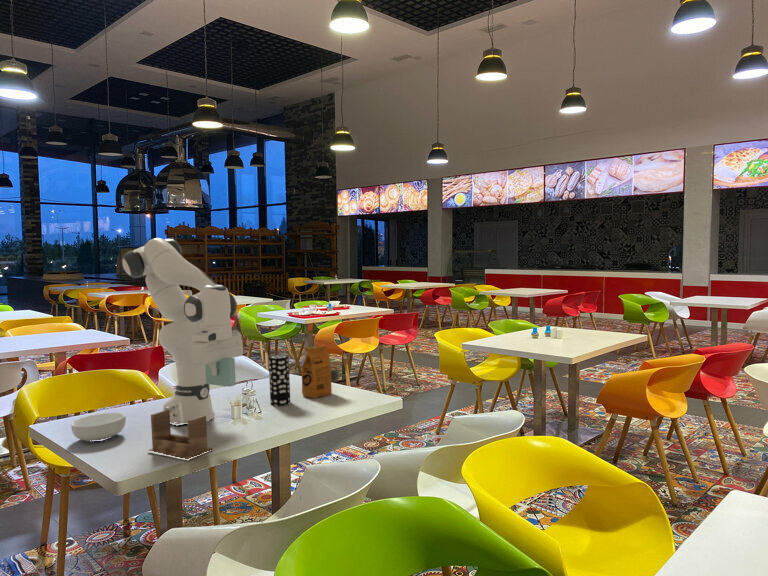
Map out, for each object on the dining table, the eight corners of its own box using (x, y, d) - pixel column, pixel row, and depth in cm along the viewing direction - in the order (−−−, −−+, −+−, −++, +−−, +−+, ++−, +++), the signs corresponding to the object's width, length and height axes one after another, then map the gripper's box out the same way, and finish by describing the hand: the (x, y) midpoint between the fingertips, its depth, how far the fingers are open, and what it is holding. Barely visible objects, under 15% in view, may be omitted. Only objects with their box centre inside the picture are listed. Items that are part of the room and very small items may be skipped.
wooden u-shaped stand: (148, 453, 177) (145, 416, 176) (173, 443, 185) (171, 408, 185) (187, 461, 168) (185, 422, 167) (212, 450, 177) (210, 414, 176)
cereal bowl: (114, 428, 205) (112, 409, 205) (135, 436, 194) (133, 417, 194) (64, 440, 192) (63, 420, 192) (84, 450, 181) (82, 429, 181)
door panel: (206, 383, 187) (204, 357, 186) (211, 382, 189) (210, 356, 188) (230, 386, 182) (229, 359, 181) (235, 384, 184) (234, 358, 183)
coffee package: (299, 396, 245) (297, 347, 244) (320, 390, 254) (318, 343, 253) (313, 399, 238) (311, 349, 237) (334, 393, 247) (333, 345, 246)
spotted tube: (266, 405, 230) (264, 358, 229) (276, 400, 238) (274, 354, 237) (284, 406, 228) (282, 358, 227) (293, 401, 236) (292, 355, 235)
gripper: (233, 328, 195) (234, 367, 196) (187, 336, 177) (190, 379, 178) (246, 329, 192) (248, 368, 193) (202, 337, 174) (204, 380, 175)
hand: (220, 373), depth 185 cm, fingers closed on door panel, 2 cm apart
